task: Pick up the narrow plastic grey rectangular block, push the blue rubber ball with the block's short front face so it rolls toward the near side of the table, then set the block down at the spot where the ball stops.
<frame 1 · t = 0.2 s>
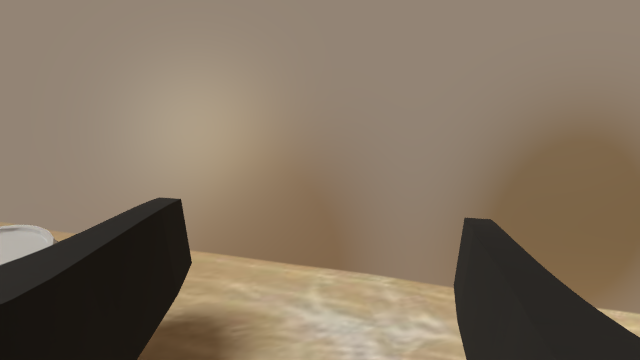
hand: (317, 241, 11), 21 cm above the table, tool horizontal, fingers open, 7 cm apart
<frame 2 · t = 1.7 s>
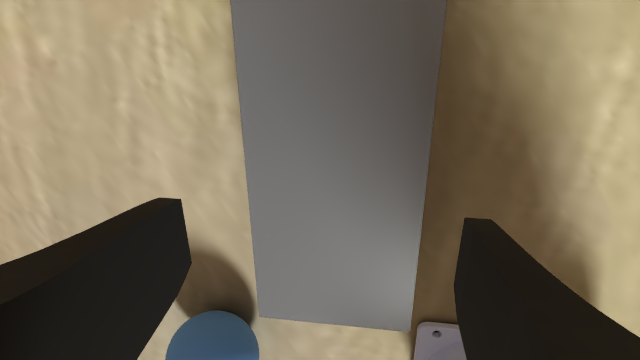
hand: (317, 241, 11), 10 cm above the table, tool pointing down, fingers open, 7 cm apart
grey rectangular block: (349, 122, 20), on the table
ball: (213, 357, 24), on the table
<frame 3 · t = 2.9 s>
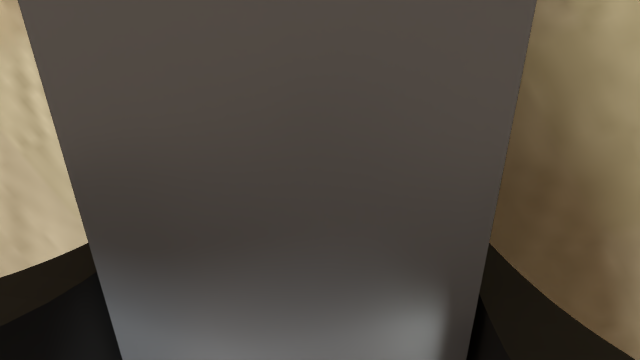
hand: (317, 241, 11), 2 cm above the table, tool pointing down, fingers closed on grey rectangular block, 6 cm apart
grey rectangular block: (326, 205, 13), on the table, touching gripper
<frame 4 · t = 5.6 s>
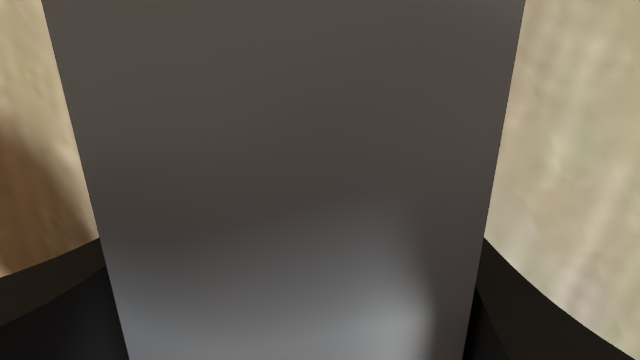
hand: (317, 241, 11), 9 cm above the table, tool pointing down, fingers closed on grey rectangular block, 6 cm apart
grey rectangular block: (327, 192, 13), point 7 cm above the table, touching gripper
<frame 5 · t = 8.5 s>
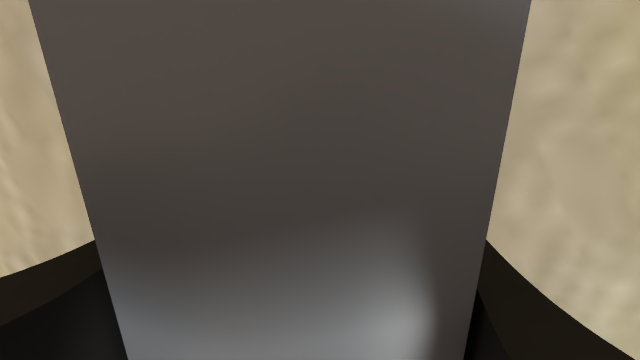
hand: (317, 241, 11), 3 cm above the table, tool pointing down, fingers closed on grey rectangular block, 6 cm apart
grey rectangular block: (327, 197, 13), point 1 cm above the table, touching gripper
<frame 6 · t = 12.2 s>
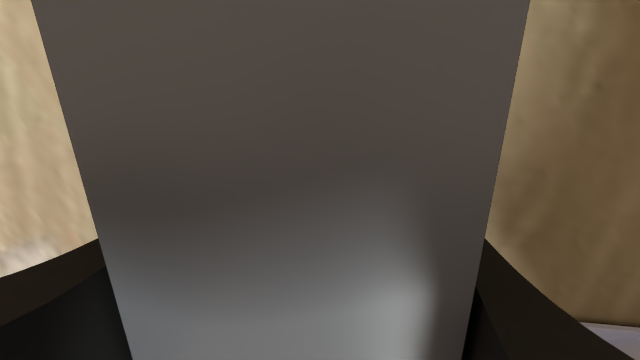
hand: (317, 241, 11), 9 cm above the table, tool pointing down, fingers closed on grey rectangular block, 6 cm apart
grey rectangular block: (327, 198, 13), point 7 cm above the table, touching gripper
when the fingers open (2 cm above the table, at t = 15.3 s): grey rectangular block stays where it is, on the table.
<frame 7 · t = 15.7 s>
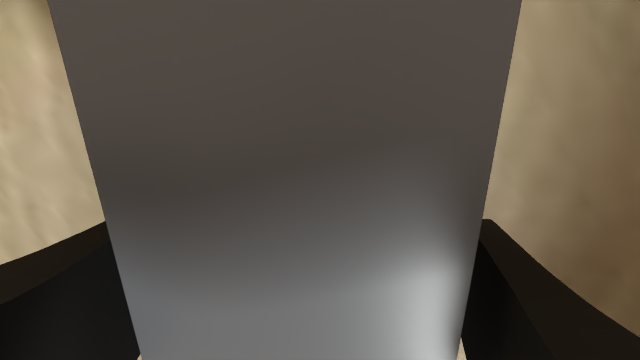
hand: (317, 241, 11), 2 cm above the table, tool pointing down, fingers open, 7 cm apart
grey rectangular block: (328, 195, 13), on the table
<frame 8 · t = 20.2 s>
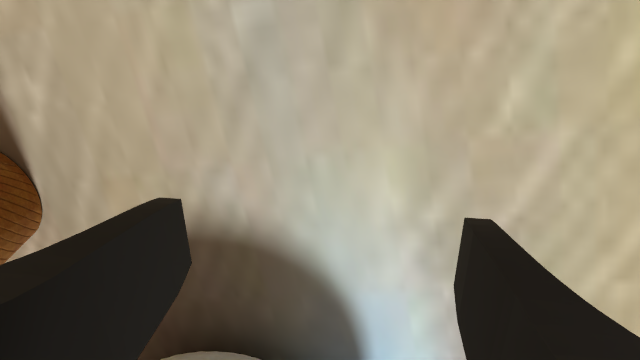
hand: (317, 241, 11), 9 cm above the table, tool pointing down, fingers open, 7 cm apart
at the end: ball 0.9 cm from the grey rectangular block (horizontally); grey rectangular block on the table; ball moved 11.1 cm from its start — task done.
